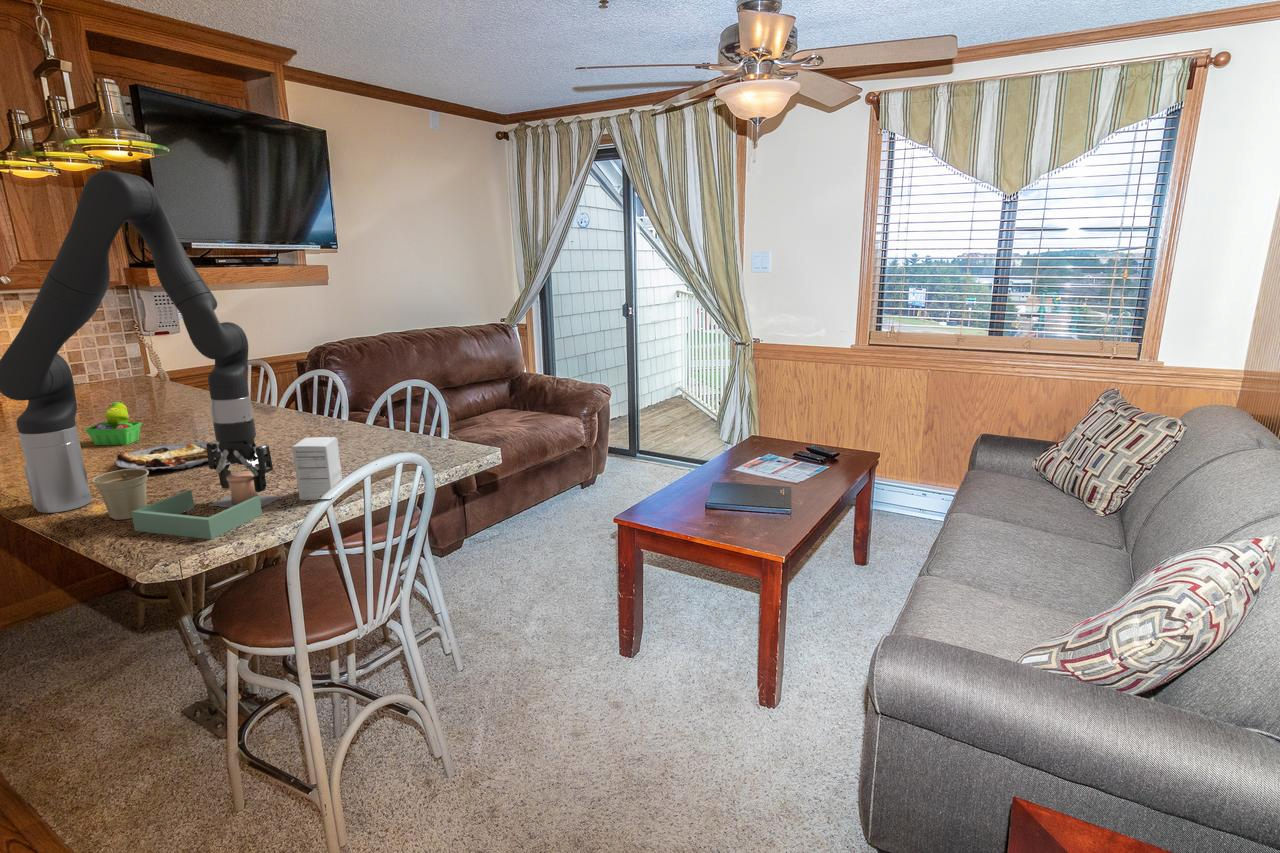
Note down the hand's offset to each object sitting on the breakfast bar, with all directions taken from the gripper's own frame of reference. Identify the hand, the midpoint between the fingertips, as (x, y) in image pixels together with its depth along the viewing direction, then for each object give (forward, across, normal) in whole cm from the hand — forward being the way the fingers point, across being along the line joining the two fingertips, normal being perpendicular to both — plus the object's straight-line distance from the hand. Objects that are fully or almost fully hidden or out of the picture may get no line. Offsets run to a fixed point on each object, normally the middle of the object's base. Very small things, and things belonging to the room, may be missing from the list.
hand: (244, 489), depth 148 cm
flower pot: (+3, -18, -12) cm, 22 cm away
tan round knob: (+3, 0, 0) cm, 3 cm away
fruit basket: (+3, -72, +32) cm, 79 cm away
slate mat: (+3, 0, 0) cm, 3 cm away
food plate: (+3, -41, +21) cm, 46 cm away
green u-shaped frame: (+3, 0, -12) cm, 12 cm away
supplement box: (+3, +13, +8) cm, 16 cm away
